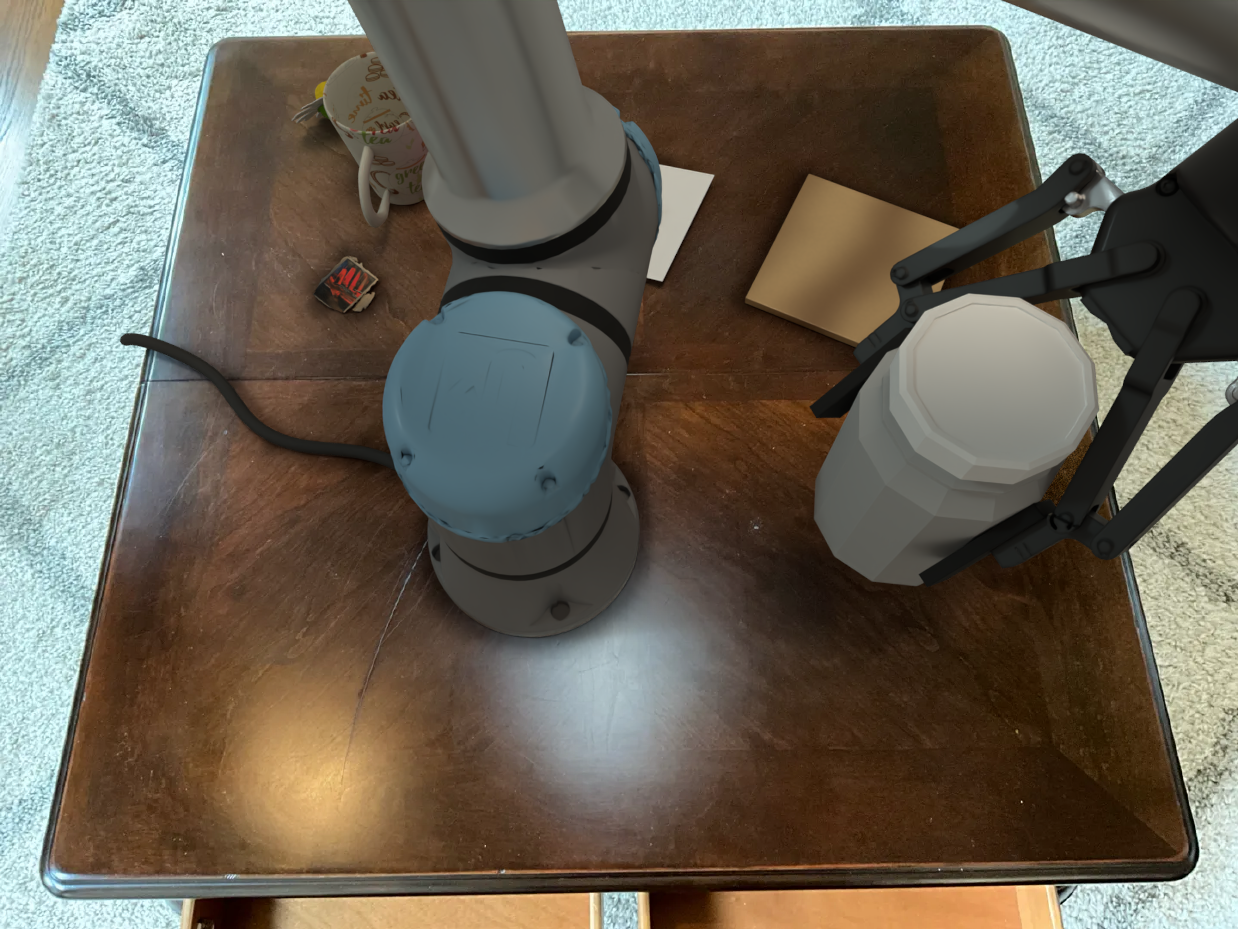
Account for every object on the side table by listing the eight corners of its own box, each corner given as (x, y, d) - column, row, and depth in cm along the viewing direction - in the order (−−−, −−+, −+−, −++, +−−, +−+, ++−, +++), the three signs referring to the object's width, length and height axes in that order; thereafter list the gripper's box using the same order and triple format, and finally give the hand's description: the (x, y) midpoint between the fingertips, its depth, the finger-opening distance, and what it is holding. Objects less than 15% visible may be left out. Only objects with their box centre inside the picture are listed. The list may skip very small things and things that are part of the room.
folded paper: (661, 289, 73) (662, 275, 71) (529, 241, 75) (527, 226, 73) (714, 181, 77) (716, 166, 75) (587, 138, 79) (586, 122, 77)
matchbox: (309, 300, 73) (308, 297, 72) (341, 253, 74) (340, 249, 74) (359, 320, 72) (357, 317, 71) (390, 271, 74) (388, 268, 73)
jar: (835, 418, 56) (914, 250, 39) (988, 469, 54) (1139, 316, 38) (788, 556, 53) (852, 438, 36) (949, 615, 51) (1095, 520, 34)
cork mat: (744, 302, 72) (745, 297, 71) (807, 179, 77) (808, 172, 76) (907, 368, 70) (910, 363, 69) (962, 236, 74) (965, 230, 74)
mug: (460, 143, 79) (438, 53, 70) (437, 261, 74) (409, 180, 65) (369, 137, 79) (334, 47, 70) (340, 254, 74) (298, 173, 65)
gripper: (1553, 405, 33) (1028, 668, 45) (1157, 14, 40) (801, 332, 53) (1590, 403, 27) (977, 705, 39) (1121, -52, 34) (732, 322, 47)
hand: (877, 491), depth 46 cm, fingers closed on jar, 10 cm apart
